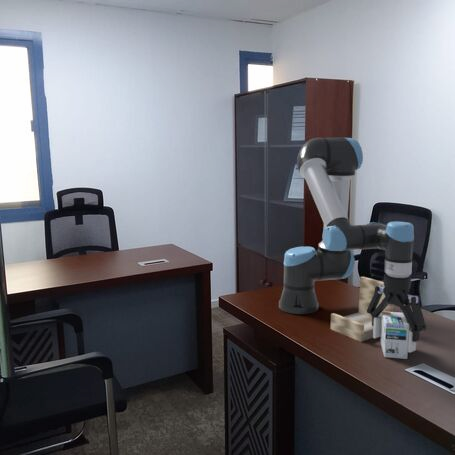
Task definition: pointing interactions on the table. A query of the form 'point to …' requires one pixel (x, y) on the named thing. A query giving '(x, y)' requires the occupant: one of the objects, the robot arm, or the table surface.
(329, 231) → the robot arm
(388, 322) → the light bulb box
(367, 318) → the board
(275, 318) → the table surface
